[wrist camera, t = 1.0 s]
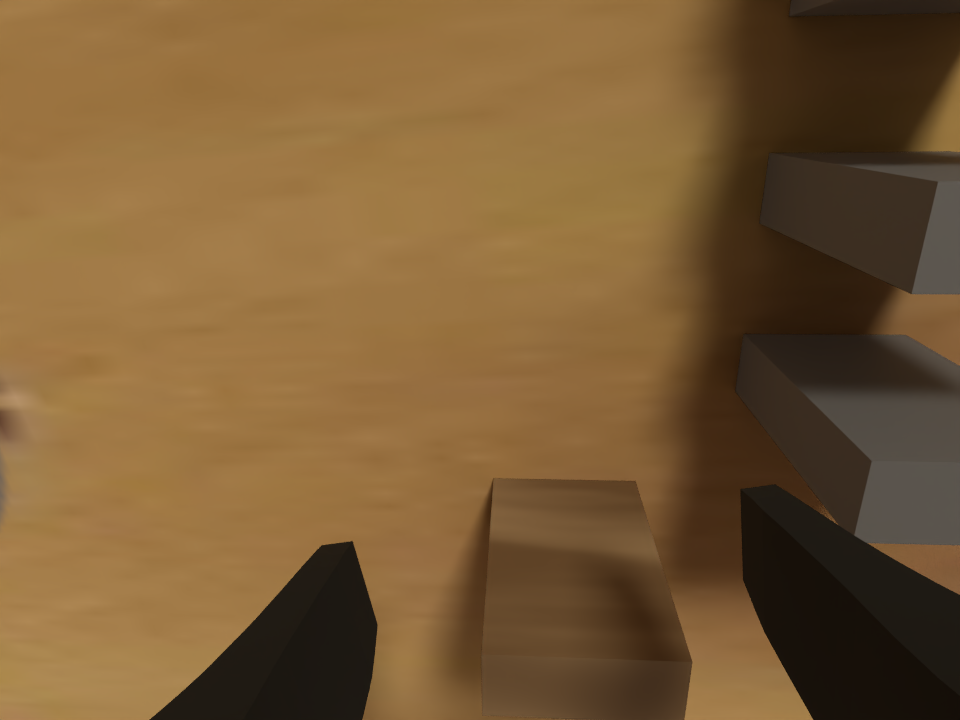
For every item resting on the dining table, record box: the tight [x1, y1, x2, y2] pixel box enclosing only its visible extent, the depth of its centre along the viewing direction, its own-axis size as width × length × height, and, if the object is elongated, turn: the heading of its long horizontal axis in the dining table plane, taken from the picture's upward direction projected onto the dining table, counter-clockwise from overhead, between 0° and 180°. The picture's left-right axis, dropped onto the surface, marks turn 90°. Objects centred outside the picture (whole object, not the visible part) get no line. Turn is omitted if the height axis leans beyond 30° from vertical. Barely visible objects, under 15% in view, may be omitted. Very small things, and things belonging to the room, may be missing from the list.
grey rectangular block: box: [735, 334, 960, 545], centre depth 17 cm, size 2×5×8 cm, turn 91°
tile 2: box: [759, 151, 960, 294], centre depth 15 cm, size 2×5×8 cm, turn 91°
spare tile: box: [481, 478, 692, 720], centre depth 19 cm, size 2×5×8 cm, turn 91°
